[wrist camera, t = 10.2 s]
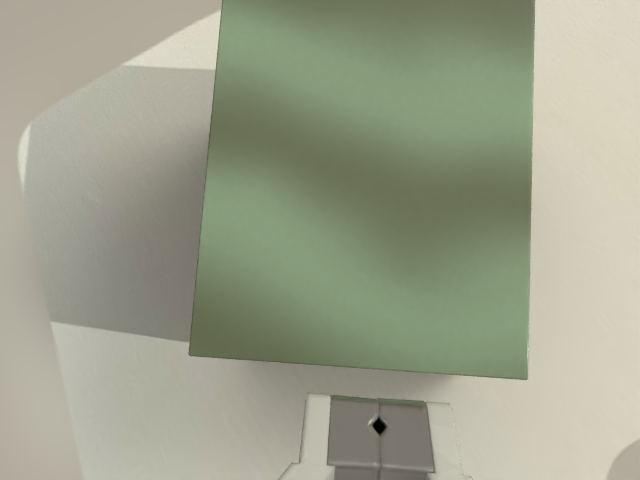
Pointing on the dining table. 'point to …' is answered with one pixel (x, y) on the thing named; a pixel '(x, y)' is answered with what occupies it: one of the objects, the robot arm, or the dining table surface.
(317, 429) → the robot arm
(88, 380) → the dining table surface
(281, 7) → the lid
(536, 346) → the dining table surface
